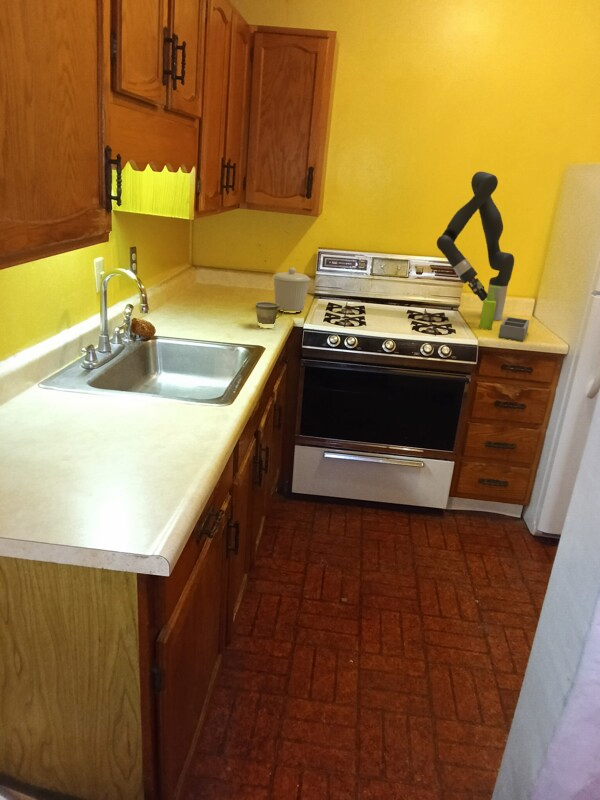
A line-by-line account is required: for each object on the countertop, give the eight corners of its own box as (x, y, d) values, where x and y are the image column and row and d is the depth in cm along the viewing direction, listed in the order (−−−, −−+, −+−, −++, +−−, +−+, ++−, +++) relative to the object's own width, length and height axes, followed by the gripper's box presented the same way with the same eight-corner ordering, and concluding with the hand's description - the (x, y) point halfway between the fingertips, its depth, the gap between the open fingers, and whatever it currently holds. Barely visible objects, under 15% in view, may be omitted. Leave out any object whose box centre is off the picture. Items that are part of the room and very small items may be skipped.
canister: (301, 307, 310) (304, 265, 303) (313, 315, 294) (316, 271, 287) (266, 307, 305) (268, 264, 297) (276, 315, 289) (279, 270, 281)
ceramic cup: (250, 327, 264) (251, 304, 261) (260, 323, 273) (261, 300, 269) (278, 332, 260) (279, 308, 256) (287, 327, 269) (288, 304, 265)
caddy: (504, 329, 295) (506, 316, 293) (527, 332, 291) (529, 320, 289) (498, 337, 277) (500, 324, 275) (522, 341, 273) (525, 328, 271)
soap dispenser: (494, 330, 291) (502, 288, 284) (479, 328, 292) (486, 286, 285) (493, 327, 296) (500, 286, 289) (478, 326, 297) (485, 284, 290)
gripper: (468, 267, 283) (490, 296, 282) (474, 264, 295) (494, 291, 295) (455, 277, 286) (476, 305, 286) (461, 274, 299) (481, 301, 298)
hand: (485, 298), depth 290 cm, fingers open, 8 cm apart
